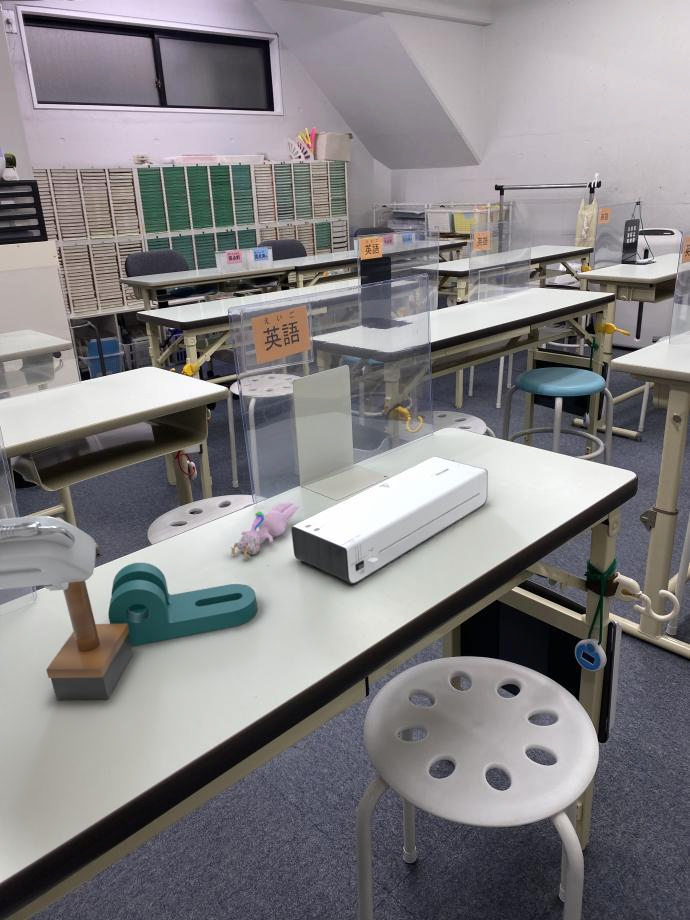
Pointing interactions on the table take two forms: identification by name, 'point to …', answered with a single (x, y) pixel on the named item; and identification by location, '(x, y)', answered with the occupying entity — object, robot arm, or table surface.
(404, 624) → the table surface
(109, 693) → the hand brush
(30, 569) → the robot arm
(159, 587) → the bracket
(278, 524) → the rabbit figure
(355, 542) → the laminator
